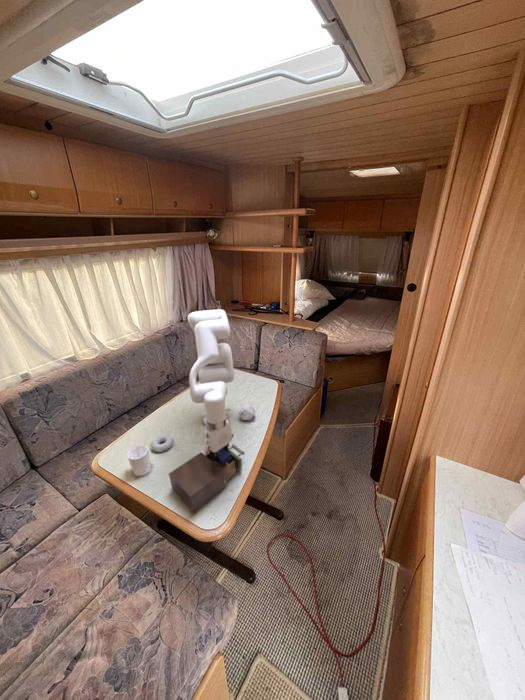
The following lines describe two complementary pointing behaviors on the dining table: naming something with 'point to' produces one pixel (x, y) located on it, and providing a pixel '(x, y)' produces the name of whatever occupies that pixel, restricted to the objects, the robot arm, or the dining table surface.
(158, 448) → the donut
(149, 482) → the dining table surface
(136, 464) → the white cup
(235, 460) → the drawer
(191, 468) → the cabinet
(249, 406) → the die
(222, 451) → the tall navy block
